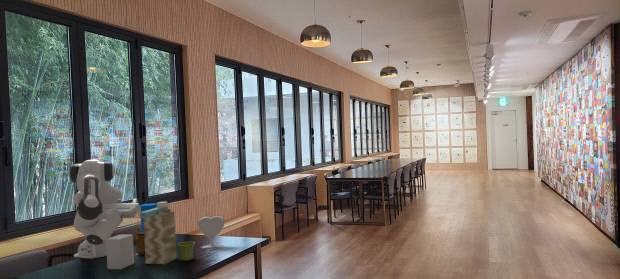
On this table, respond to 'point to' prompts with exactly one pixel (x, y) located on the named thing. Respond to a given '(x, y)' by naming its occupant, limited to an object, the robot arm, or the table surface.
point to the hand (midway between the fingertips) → (128, 200)
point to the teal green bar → (154, 210)
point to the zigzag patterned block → (160, 238)
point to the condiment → (140, 243)
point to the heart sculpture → (211, 228)
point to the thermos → (145, 208)
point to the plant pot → (186, 250)
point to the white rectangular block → (120, 251)
